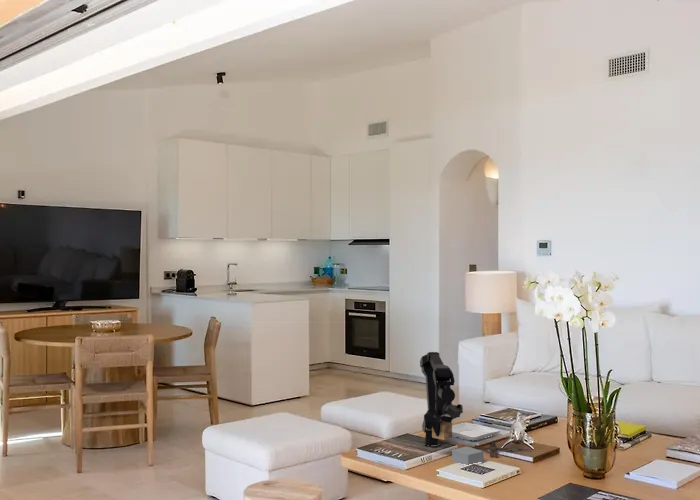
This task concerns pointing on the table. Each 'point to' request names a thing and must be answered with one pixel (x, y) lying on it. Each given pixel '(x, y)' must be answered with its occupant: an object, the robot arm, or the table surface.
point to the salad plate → (470, 427)
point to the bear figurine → (492, 449)
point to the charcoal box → (467, 455)
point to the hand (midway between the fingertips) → (442, 434)
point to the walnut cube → (443, 431)
